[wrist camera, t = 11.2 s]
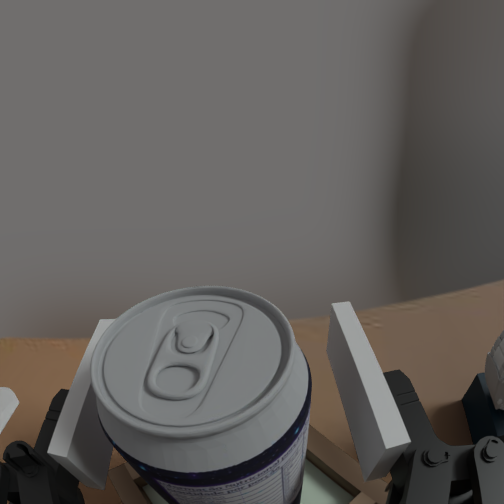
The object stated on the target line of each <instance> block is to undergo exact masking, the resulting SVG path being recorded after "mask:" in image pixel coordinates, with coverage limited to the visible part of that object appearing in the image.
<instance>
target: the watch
mask: <svg viewBox="0 0 504 504" xmlns="http://www.w3.org/2000/svg"><path fill="white" fill-rule="evenodd" d="M462 402H463V406H464V409H465V413H466V417H467V421H468V424H469V428H470V432H471V436H472V441H473V445H476V444H477V443H478V442H479V440H480V439H482V438H484V437H486V436H494V437H497V438H499V439H500V440H501V441H502V442H503V443H504V330H503V332H502V333H501V334H500V336H499V337H498V338H497V340H496V342H495V343H494V346H493V347H492V349H491V352H488V354H487V358H486V364H485V373H479V374H477V375H476V377H475V379H474V380H473V382H472V384H471V385H470V387H469V389H468V390H467V392H466V394H465V395H464V397H463V398H462Z"/></svg>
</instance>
